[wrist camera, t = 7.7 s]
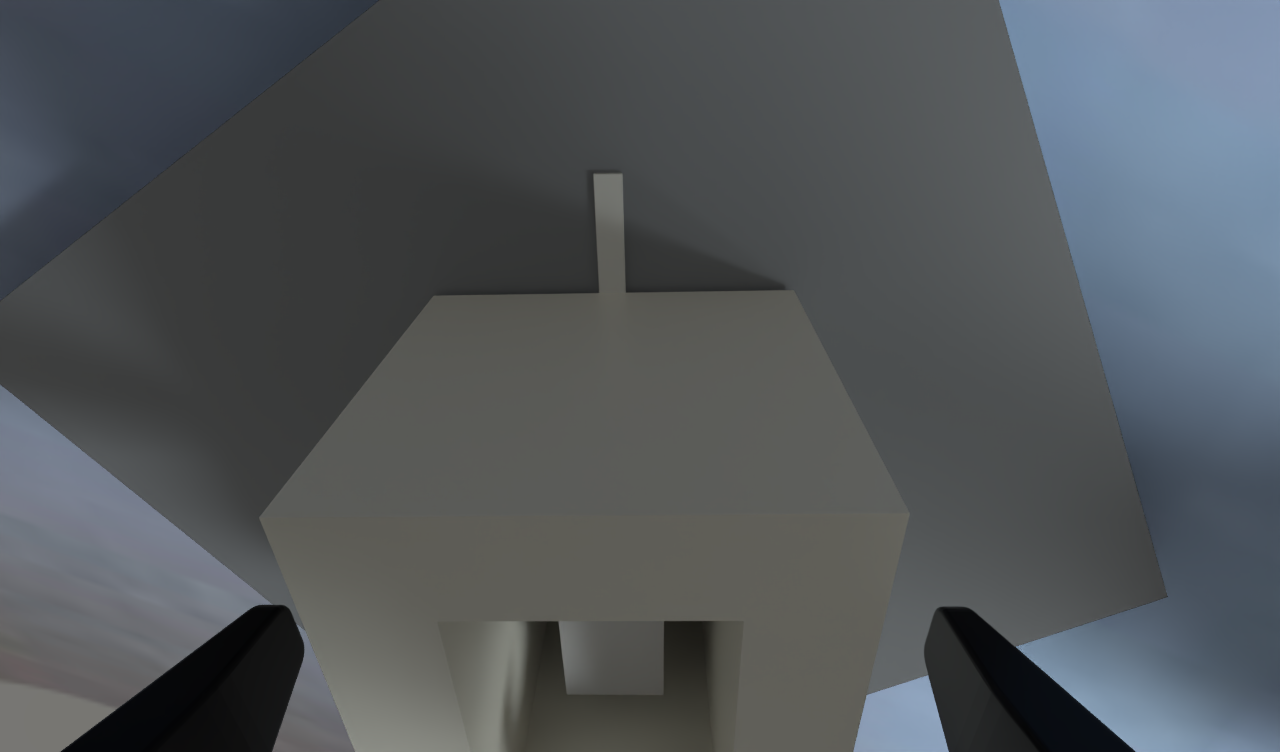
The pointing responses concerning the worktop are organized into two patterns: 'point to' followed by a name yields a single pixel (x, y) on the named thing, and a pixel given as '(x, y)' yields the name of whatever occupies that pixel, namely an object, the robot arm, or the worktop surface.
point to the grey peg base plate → (621, 273)
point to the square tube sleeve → (595, 527)
